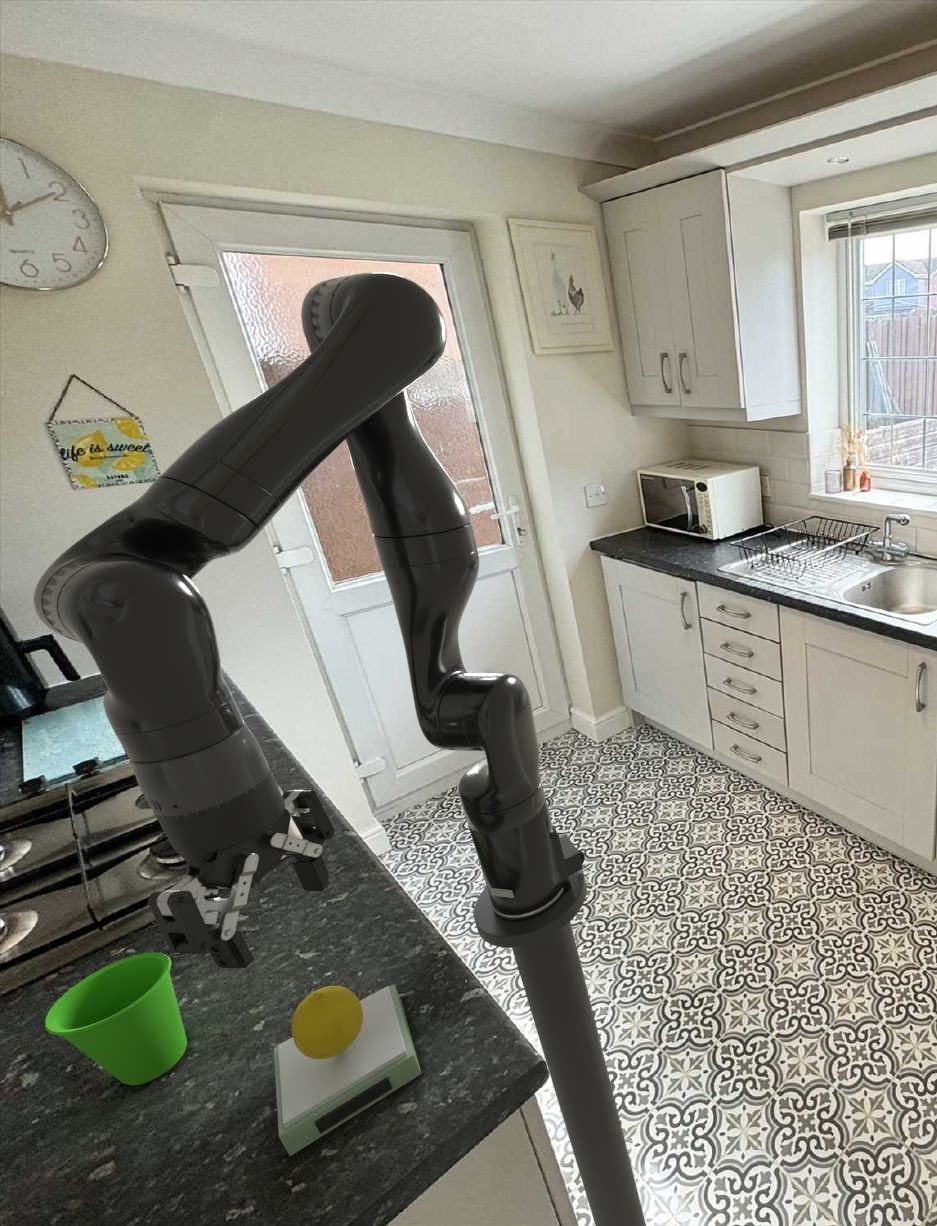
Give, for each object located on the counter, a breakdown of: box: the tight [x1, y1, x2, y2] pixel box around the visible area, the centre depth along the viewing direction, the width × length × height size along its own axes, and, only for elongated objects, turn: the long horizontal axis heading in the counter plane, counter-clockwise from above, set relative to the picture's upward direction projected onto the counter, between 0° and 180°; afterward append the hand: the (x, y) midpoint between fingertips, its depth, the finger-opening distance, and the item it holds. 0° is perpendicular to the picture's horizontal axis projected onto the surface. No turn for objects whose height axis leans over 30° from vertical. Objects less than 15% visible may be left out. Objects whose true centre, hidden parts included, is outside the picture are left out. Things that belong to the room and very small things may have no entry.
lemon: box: [291, 985, 363, 1059], centre depth 64 cm, size 6×6×8 cm
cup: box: [44, 951, 188, 1086], centre depth 67 cm, size 9×9×11 cm
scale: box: [273, 983, 422, 1157], centre depth 66 cm, size 11×11×4 cm
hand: (281, 923), depth 60 cm, fingers open, 8 cm apart
